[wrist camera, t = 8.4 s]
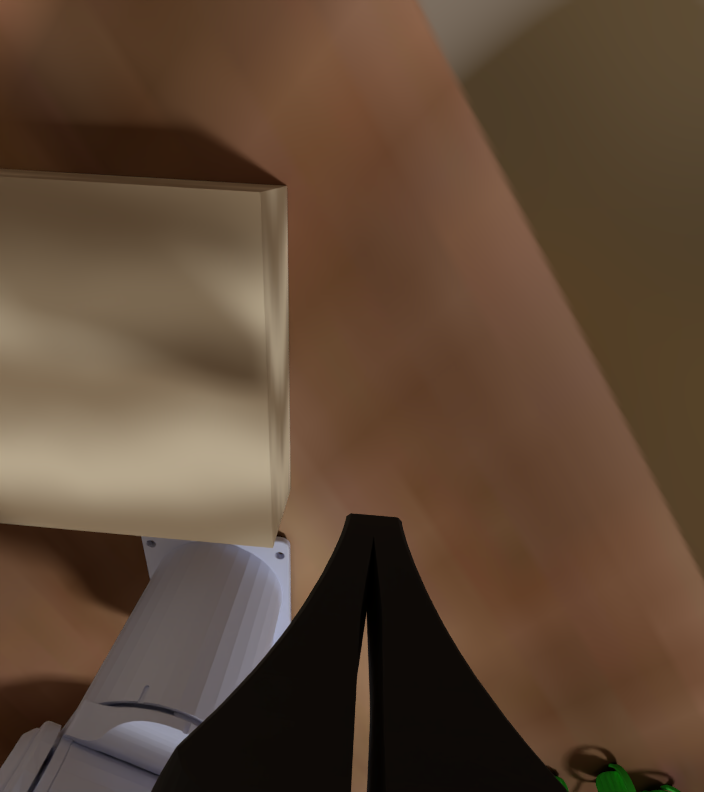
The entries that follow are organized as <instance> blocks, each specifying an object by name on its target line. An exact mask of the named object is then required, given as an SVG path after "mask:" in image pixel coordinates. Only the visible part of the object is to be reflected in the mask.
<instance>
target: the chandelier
mask: <svg viewBox="0 0 704 792" xmlns="http://www.w3.org/2000/svg"><path fill="white" fill-rule="evenodd" d="M608 767H611V768H614V769H615V770H616V771H607V772H603V773H601V774H599V775H598V776H597V778H596V786H597V789H598V792H636V790H635V787H634V785H633V783H632V781H631V779H630V777H629V775H628V774H627V772H626V771H625V770H624V769H623V768H622V767H621V766H620V765H617V764H609V766H608ZM610 775H611V776H610ZM555 777H556V778H557V779H558V780H559V781H560V783H561V784H562V785H563V786H564V787H565V788H566V789H567V790H568V788H567V785H566V784H565V782H564V780H563V779H561V778H560V777H557V776H555ZM611 778H612V779H611ZM660 787H661V788H662V789H664V790H669V791H672V792H680V791H679V790H677V789H676V788H674V787H672V786H669V785H663V786H660ZM664 790H655V791H654V790H653V791H649V792H668V791H664ZM568 792H569V791H568ZM641 792H648V791H646V790H645V791H641Z"/></svg>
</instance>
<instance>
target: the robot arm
mask: <svg viewBox="0 0 704 792" xmlns="http://www.w3.org/2000/svg"><path fill="white" fill-rule="evenodd" d="M141 538H142V543H143V548H144V553H145V557H146V562H147V567H148V572H149V577H150V581H149V583H148V585H147V587H146V588H145V590H144V592H143V594H142V595H141V597H140V599H139V601H138V602H137V604H136V606H135V608H134V609H133V611H132V613H131V615H130V616H129V618H128V620H127V622H126V623H125V625H124V627H123V629H122V630H121V632H120V634H119V636H118V637H117V639H116V641H115V643H114V645H113V646H112V648H111V650H110V652H109V653H108V655H107V657H106V659H105V660H104V662H103V664H102V666H101V667H100V669H99V671H98V673H97V674H96V676H95V678H94V680H93V681H92V683H91V685H90V687H89V688H88V690H87V692H86V694H85V695H84V697H83V699H82V701H81V702H80V704H79V706H78V708H77V709H76V711H75V712H74V713H73V715H72V716H71V717H70V719H69V720H68V722H67V723H66V724H65V726H64V727H63V728H62V730H61V725H59V724H57V723H54V722H52V721H46V722H44V723H43V725H42V726H41V727H40V728H35V729H33V730H31V731H28V732H26V733H24V734H23V735H22V736H21V737H20V739H19V741H18V742H17V744H16V745H15V747H14V748H13V750H12V751H11V753H10V754H9V756H8V757H7V759H6V761H5V762H4V764H3V765H2V767H1V768H0V792H351V779H352V759H353V740H354V721H355V702H356V684H357V673H358V666H359V659H360V653H361V646H362V639H363V632H364V626H365V619H366V612H367V634H368V661H369V687H370V734H369V758H368V781H367V792H568V790H567V789H566V788H565V787H564V786H563V785H562V784H561V783H560V781H559V780H558V779H557V778H556V777H555V776H554V775H553V774H552V772H551V771H550V770H549V769H548V768H547V767H546V766H545V765H544V763H543V762H542V761H541V760H540V759H539V757H538V756H537V755H536V754H535V753H534V752H533V750H532V749H531V748H530V747H529V746H528V745H527V743H526V742H525V741H524V740H523V738H522V737H521V736H520V735H519V733H518V732H517V731H516V730H515V728H514V727H513V726H512V725H511V723H510V722H509V721H508V720H507V718H506V717H505V716H504V714H503V713H502V712H501V710H500V709H499V708H498V706H497V705H496V703H495V702H494V701H493V699H492V698H491V697H490V695H489V694H488V693H487V691H486V690H485V688H484V687H483V686H482V684H481V683H480V682H479V680H478V679H477V677H476V676H475V674H474V673H473V671H472V670H471V668H470V667H469V665H468V664H467V662H466V661H465V659H464V658H463V656H462V655H461V653H460V651H459V650H458V648H457V646H456V645H455V643H454V641H453V640H452V638H451V636H450V635H449V633H448V631H447V629H446V628H445V626H444V624H443V622H442V620H441V619H440V617H439V615H438V613H437V611H436V609H435V607H434V605H433V603H432V601H431V599H430V597H429V595H428V593H427V591H426V589H425V586H424V584H423V582H422V580H421V577H420V575H419V573H418V570H417V568H416V566H415V563H414V561H413V558H412V555H411V553H410V550H409V547H408V544H407V541H406V538H405V535H404V531H403V527H402V522H401V520H400V519H399V518H397V517H386V516H375V515H363V514H352V513H351V514H349V515H348V516H346V521H345V525H344V528H343V531H342V533H341V536H340V538H339V541H338V543H337V545H336V547H335V550H334V552H333V554H332V556H331V558H330V559H329V561H328V563H327V565H326V567H325V569H324V571H323V573H322V575H321V576H320V578H319V580H318V582H317V583H316V585H315V586H314V588H313V590H312V591H311V593H310V595H309V596H308V598H307V600H306V601H305V603H304V604H303V606H302V607H301V609H300V610H299V612H298V613H297V615H296V616H295V617H294V619H293V620H292V622H291V571H290V542H289V541H288V540H287V539H286V538H283V537H276V539H275V543H274V546H273V548H266V547H255V546H244V545H233V544H222V543H212V542H201V541H190V540H179V539H168V538H157V537H146V536H141ZM151 540H152V541H151ZM153 541H154V542H153ZM278 552H281V553H283V554H280V553H278ZM60 730H61V731H60ZM59 732H60V733H59Z"/></svg>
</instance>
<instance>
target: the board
mask: <svg viewBox="0 0 704 792" xmlns="http://www.w3.org/2000/svg"><path fill="white" fill-rule="evenodd" d="M289 493H290V403H289V314H288V225H287V186H282V185H265V184H248V183H232V182H215V181H198V180H181V179H165V178H148V177H131V176H114V175H98V174H81V173H64V172H47V171H31V170H14V169H0V523H4V524H15V525H26V526H37V527H48V528H59V529H69V530H80V531H91V532H102V533H113V534H124V535H135V536H146V537H157V538H168V539H179V540H190V541H201V542H212V543H222V544H233V545H244V546H255V547H266V548H273V546H274V543H275V539H276V536H277V533H278V529H279V526H280V523H281V519H282V516H283V513H284V509H285V506H286V503H287V499H288V496H289Z"/></svg>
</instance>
